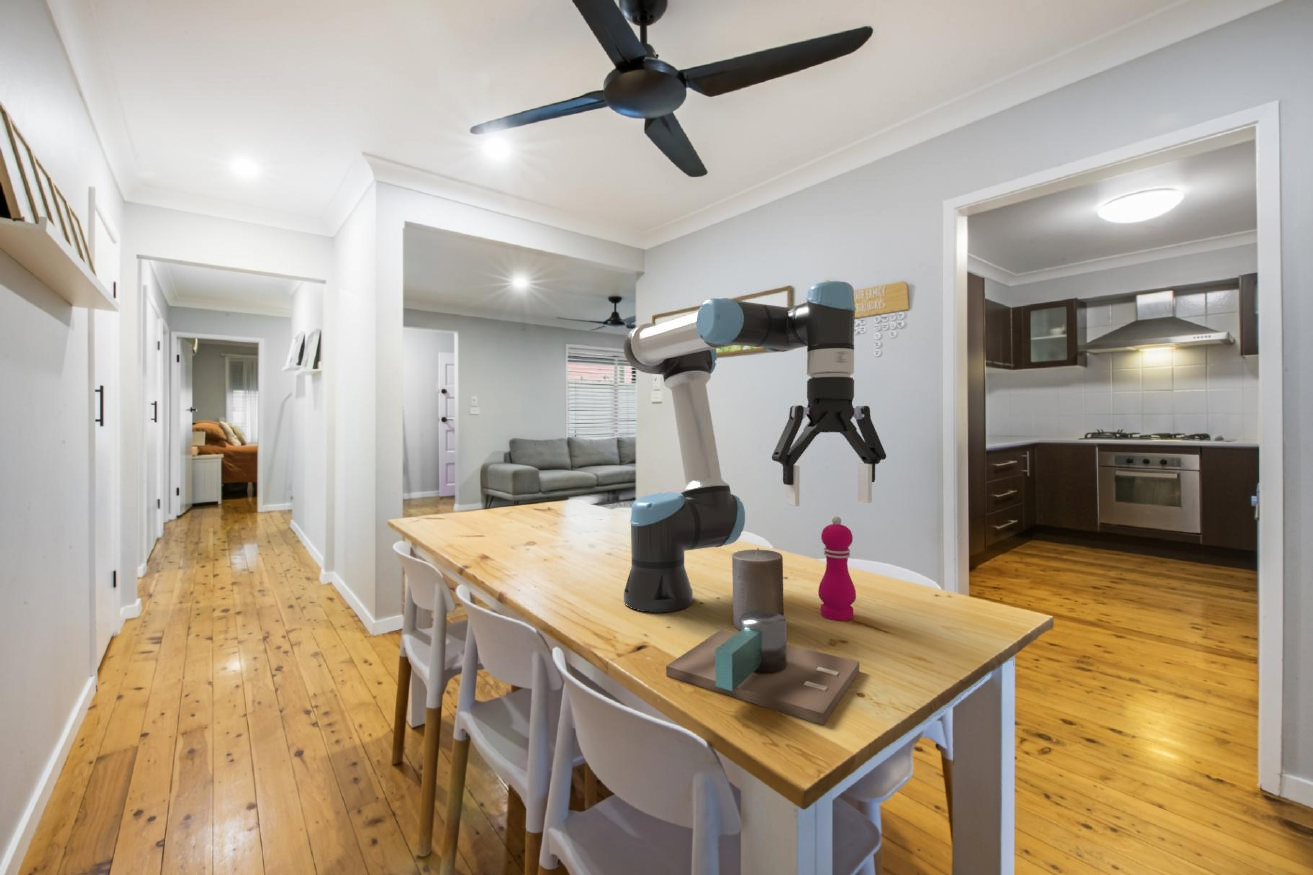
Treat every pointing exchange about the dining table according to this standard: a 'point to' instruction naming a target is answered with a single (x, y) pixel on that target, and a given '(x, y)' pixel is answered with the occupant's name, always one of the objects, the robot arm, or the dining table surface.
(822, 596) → the pepper mill
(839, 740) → the dining table surface
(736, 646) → the cylinder with teal slab
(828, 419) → the robot arm
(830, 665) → the base
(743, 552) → the pillar candle
